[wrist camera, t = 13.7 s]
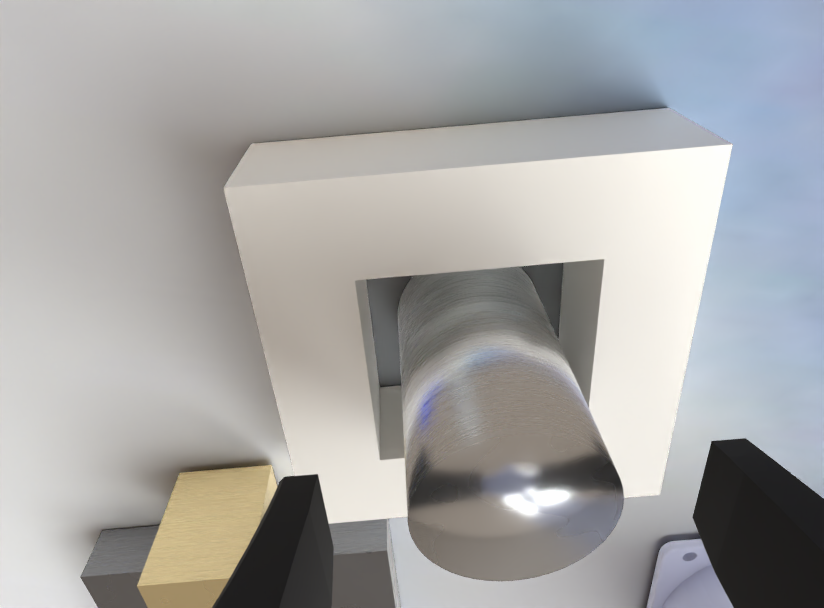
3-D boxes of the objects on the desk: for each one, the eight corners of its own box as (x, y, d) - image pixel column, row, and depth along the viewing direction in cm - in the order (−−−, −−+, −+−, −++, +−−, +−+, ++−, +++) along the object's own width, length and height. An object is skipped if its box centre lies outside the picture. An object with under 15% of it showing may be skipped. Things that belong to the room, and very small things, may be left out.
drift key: (271, 464, 19) (248, 576, 16) (298, 561, 22) (283, 675, 19) (179, 472, 19) (136, 586, 16) (216, 568, 22) (186, 683, 19)
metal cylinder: (550, 254, 16) (650, 437, 10) (524, 371, 18) (594, 581, 12) (403, 245, 16) (418, 430, 10) (393, 366, 18) (400, 580, 12)
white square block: (669, 107, 14) (732, 144, 12) (623, 422, 19) (660, 494, 17) (251, 143, 14) (223, 187, 12) (316, 448, 19) (306, 525, 17)
